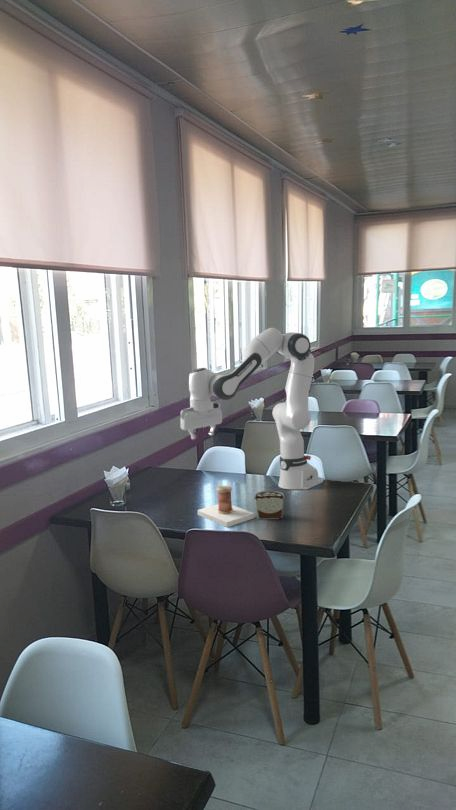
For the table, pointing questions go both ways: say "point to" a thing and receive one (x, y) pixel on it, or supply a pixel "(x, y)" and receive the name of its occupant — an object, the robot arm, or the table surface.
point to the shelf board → (226, 515)
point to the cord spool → (224, 500)
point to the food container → (269, 504)
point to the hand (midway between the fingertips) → (202, 437)
